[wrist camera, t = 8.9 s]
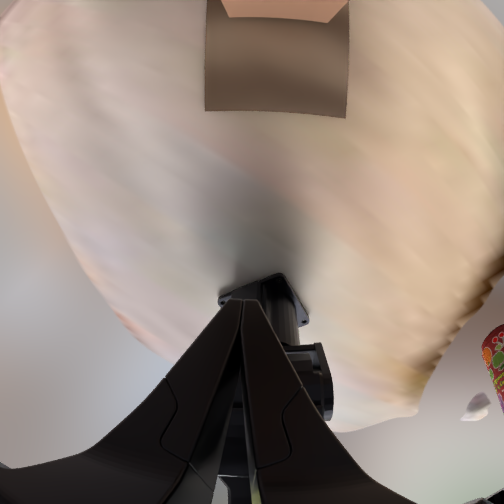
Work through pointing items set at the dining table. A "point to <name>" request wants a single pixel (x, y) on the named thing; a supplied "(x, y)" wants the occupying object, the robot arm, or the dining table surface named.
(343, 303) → the dining table surface
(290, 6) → the pink box
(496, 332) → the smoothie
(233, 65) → the stop block
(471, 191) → the dining table surface
